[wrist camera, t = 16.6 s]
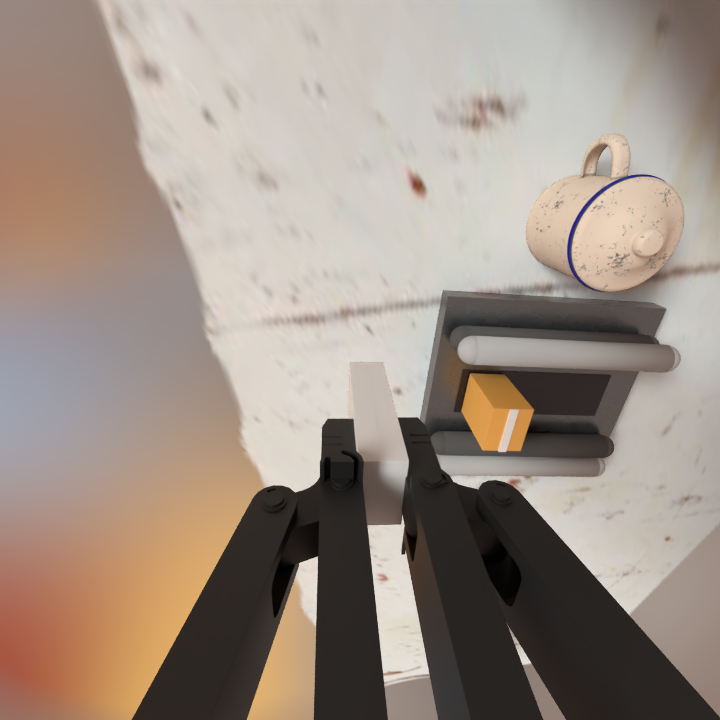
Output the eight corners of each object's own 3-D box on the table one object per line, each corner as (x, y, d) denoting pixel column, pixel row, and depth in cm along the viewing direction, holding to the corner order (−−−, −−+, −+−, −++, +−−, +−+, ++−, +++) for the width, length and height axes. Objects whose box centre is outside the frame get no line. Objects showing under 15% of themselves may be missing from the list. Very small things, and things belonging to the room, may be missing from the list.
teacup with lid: (605, 260, 41) (699, 293, 31) (520, 275, 41) (585, 312, 31) (623, 129, 36) (744, 115, 25) (524, 146, 36) (604, 139, 25)
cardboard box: (470, 373, 43) (494, 409, 37) (504, 374, 44) (535, 410, 37) (461, 411, 46) (483, 451, 39) (494, 412, 46) (521, 452, 40)
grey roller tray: (442, 290, 41) (448, 296, 39) (652, 302, 44) (667, 309, 42) (413, 455, 51) (416, 466, 49) (586, 457, 53) (596, 468, 52)
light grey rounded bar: (449, 320, 41) (465, 342, 36) (651, 331, 43) (693, 352, 38) (444, 345, 42) (459, 369, 37) (641, 354, 44) (680, 377, 39)
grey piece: (429, 425, 47) (434, 440, 44) (607, 430, 49) (622, 444, 46) (421, 463, 49) (426, 480, 47) (592, 466, 51) (605, 481, 49)
